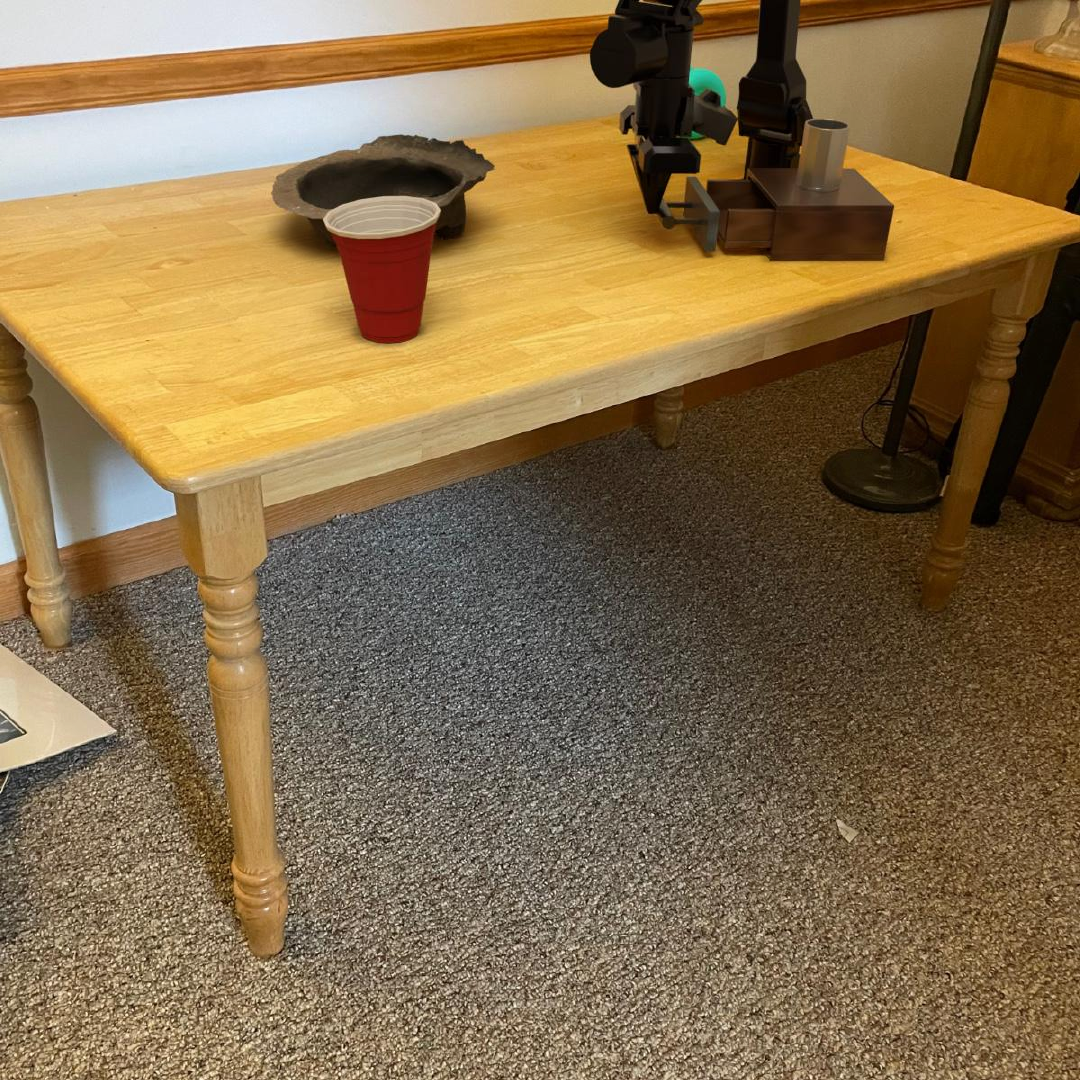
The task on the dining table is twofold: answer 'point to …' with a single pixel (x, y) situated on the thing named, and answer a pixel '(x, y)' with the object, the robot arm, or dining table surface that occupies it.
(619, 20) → the robot arm
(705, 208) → the drawer
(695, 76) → the teal yo-yo
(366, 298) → the plastic cup
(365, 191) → the stone bowl
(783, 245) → the cabinet
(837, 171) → the cup
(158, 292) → the dining table surface
